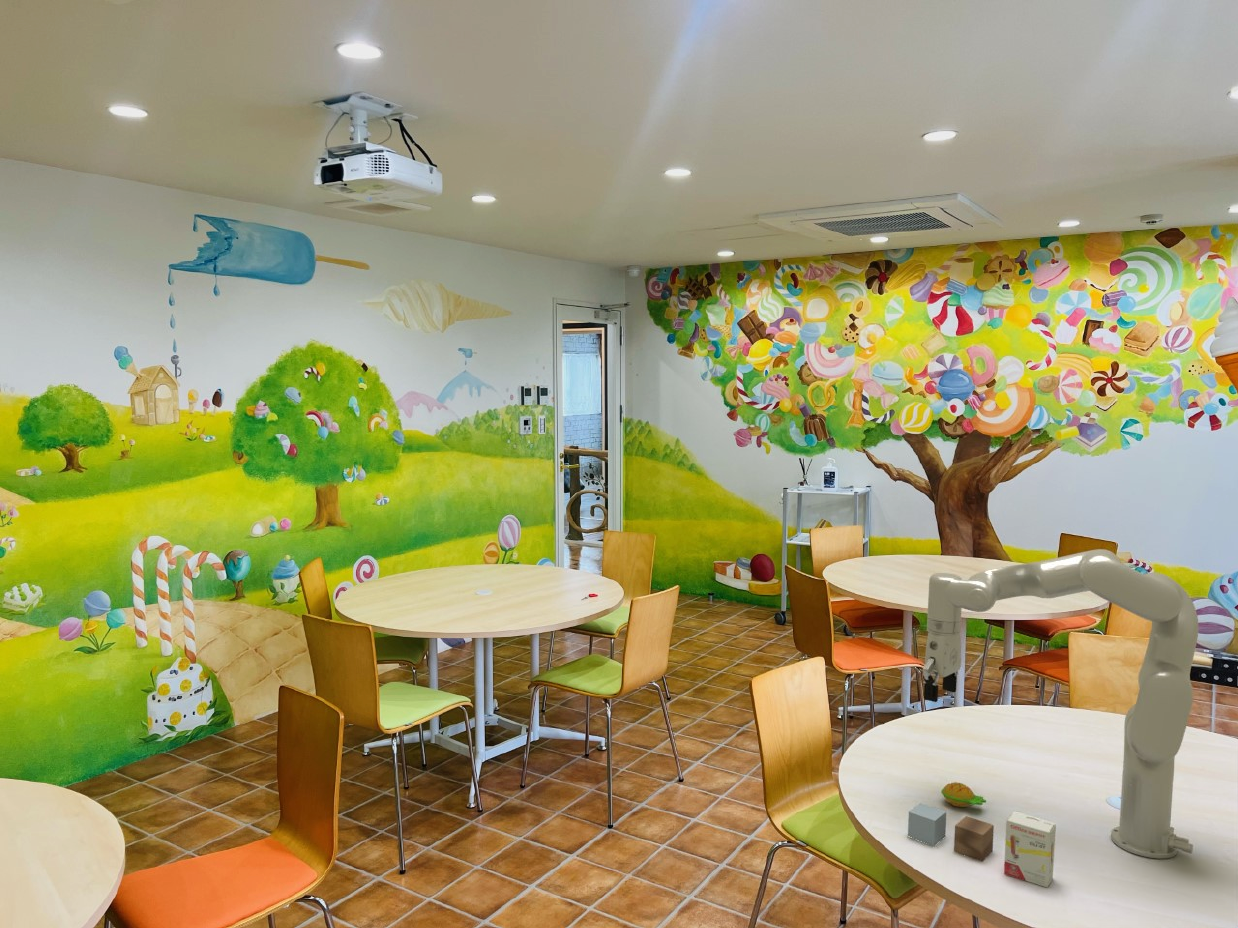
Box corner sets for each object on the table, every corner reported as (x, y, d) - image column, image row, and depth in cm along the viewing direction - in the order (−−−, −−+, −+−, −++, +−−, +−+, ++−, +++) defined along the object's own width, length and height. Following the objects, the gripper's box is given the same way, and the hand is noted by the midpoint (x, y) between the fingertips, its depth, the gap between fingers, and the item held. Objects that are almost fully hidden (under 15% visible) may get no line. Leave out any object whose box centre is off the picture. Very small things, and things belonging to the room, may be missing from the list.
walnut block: (992, 851, 193) (993, 824, 192) (981, 862, 188) (983, 834, 188) (964, 841, 197) (966, 815, 196) (953, 851, 192) (954, 825, 192)
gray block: (945, 837, 199) (946, 811, 198) (933, 847, 194) (935, 820, 194) (919, 827, 203) (920, 802, 202) (907, 837, 198) (908, 811, 198)
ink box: (1002, 873, 184) (1005, 818, 183) (1009, 864, 187) (1011, 809, 186) (1047, 888, 178) (1050, 831, 177) (1053, 878, 182) (1056, 822, 181)
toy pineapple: (947, 795, 219) (948, 774, 219) (989, 808, 212) (990, 786, 212) (936, 804, 214) (937, 783, 213) (978, 818, 207) (979, 796, 207)
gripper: (942, 635, 203) (938, 708, 205) (974, 622, 216) (970, 691, 217) (911, 629, 209) (908, 699, 210) (944, 616, 221) (941, 683, 222)
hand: (940, 695), depth 214 cm, fingers open, 9 cm apart
